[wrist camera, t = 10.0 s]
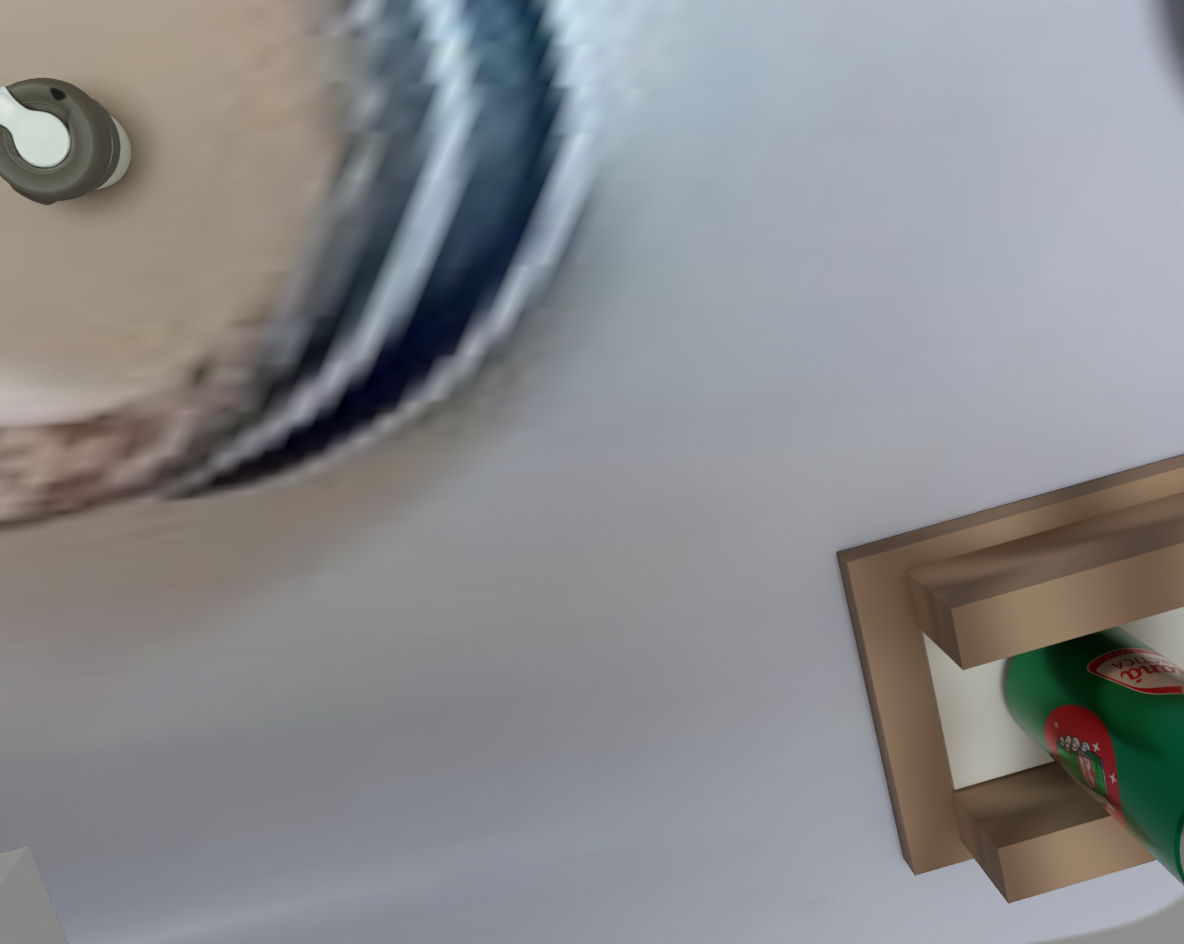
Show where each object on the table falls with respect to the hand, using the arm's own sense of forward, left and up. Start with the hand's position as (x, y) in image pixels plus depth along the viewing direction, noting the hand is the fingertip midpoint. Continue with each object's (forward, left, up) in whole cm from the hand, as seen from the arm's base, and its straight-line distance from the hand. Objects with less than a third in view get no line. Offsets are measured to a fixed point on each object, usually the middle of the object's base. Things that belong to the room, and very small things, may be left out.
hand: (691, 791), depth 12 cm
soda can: (+16, -15, -27) cm, 34 cm away
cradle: (+17, -15, -28) cm, 36 cm away
